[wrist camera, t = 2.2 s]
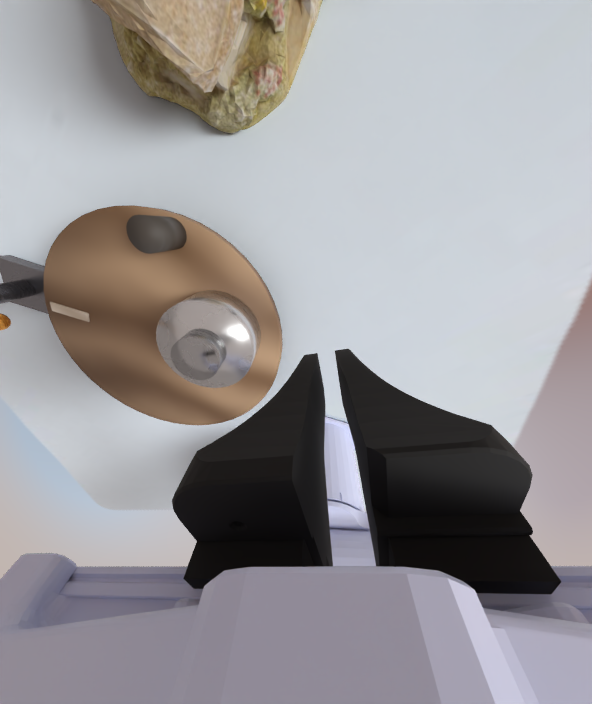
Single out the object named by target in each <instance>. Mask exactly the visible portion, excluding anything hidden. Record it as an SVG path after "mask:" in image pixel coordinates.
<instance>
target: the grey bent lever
mask: <svg viewBox="0 0 592 704" xmlns="http://www.w3.org/2000/svg"><path fill="white" fill-rule="evenodd" d="M44 270H45V266H41V265H38V264H35V263H32V262H29V261H26V260H23V259H20V258H17V257H14V256H11V255H7V256H0V272H1V275H2V279H3V282H4V283H0V304H1V303H5V302H12V303H16V304H19V305H22V306H25V307H29V308H32V309H35V310H38V311H42V312H45V313H48V310H47V307H46V302H45V296H44ZM10 324H11V321H10V319H9V318H8V317H7V316H6V315H3V314H0V330H4V329H7V328H8V327H9V326H10Z"/></svg>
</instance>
